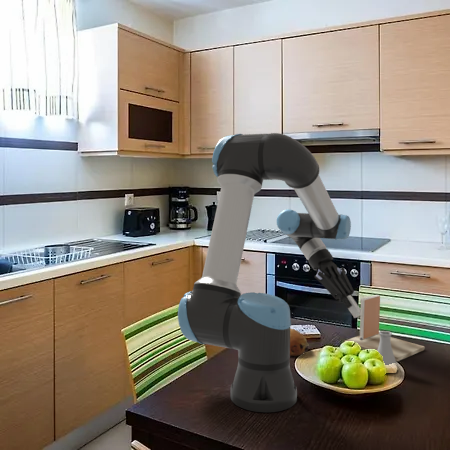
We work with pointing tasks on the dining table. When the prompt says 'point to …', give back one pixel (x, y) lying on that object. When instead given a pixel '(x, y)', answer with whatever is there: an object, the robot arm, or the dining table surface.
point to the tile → (369, 317)
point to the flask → (386, 347)
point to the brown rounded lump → (297, 343)
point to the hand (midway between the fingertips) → (358, 315)
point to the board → (398, 346)
